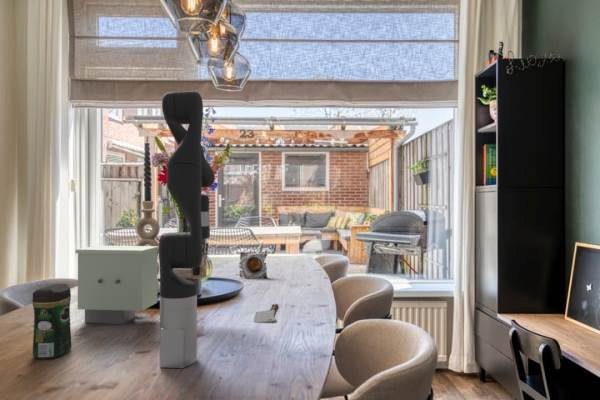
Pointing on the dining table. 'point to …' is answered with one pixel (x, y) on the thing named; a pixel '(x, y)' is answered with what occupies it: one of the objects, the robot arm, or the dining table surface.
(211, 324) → the dining table surface
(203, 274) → the wooden mallet
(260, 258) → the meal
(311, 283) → the dining table surface
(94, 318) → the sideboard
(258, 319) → the kitchen cleaver
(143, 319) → the steel puck
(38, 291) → the coffee jar
